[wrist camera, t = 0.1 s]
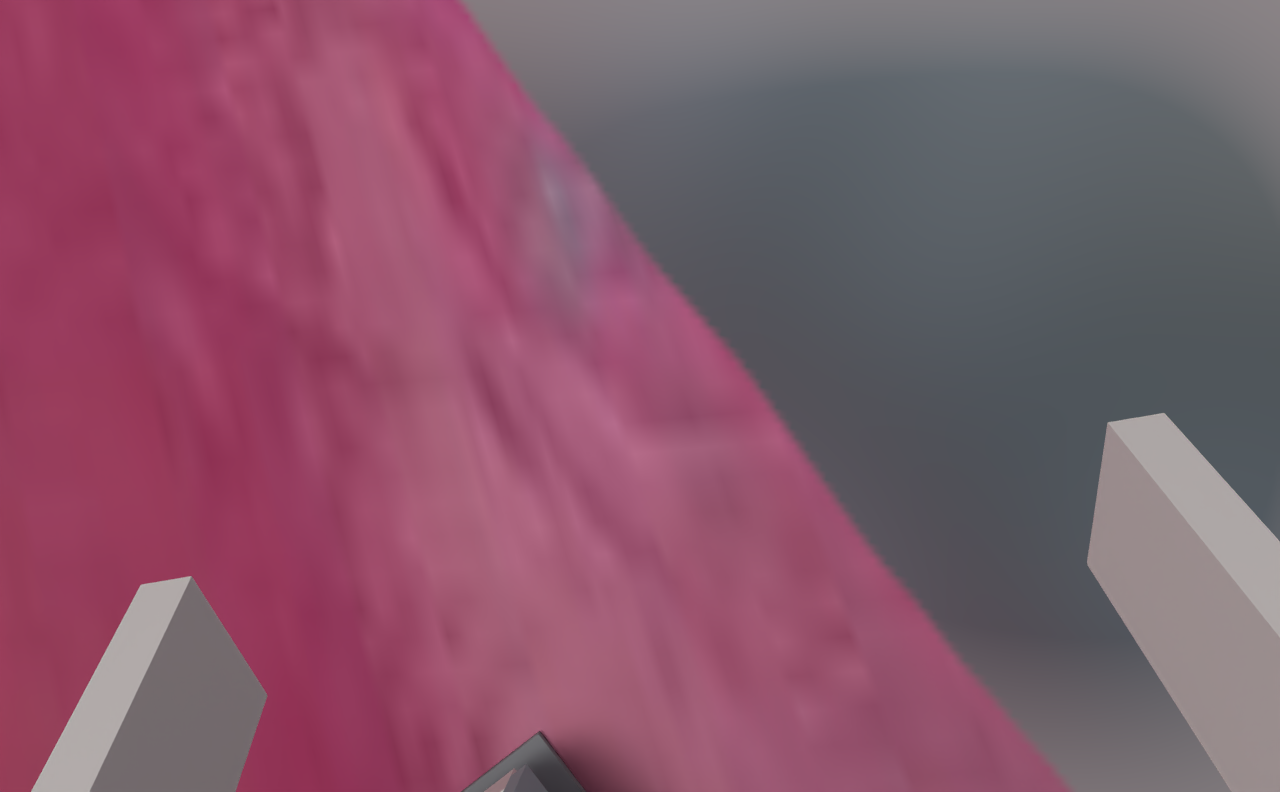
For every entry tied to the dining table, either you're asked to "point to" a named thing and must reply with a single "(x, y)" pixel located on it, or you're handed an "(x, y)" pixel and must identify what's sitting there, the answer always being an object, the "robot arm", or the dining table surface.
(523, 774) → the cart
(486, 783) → the track
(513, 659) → the dining table surface
